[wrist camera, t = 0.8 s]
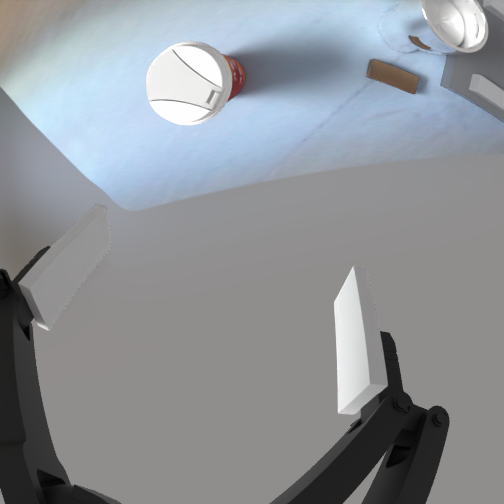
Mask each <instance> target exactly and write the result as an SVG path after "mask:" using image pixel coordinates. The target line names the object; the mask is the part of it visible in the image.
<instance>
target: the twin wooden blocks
mask: <svg viewBox="0 0 504 504" xmlns="http://www.w3.org/2000/svg"><path fill="white" fill-rule="evenodd" d="M366 77H368V78H371V79H374V80H377V81H380V82H383V83H385V84H388V85H391V86H393V87H396V88H398V89H401V90H403V91H406V92H408V93H411V94H415V93H416V89H417V85H418V81H419V77H418V76H416V75H413V74H411V73H409V72H406V71H404V70H401V69H399V68H396V67H394V66H391V65H389V64H386V63H383V62H381V61H378V60H375V59H371V60H370V62H369V66H368V70H367V74H366Z"/></svg>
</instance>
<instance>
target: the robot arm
mask: <svg viewBox="0 0 504 504" xmlns="http://www.w3.org/2000/svg"><path fill="white" fill-rule="evenodd" d="M110 248H111V238H110V229H109V220H108V208H107V206H104V205H100V204H95V206H93V207H92V208H91V209H90V210H89V211H88V212H87V213H86V214H84V215H83V216H82V217H81V218H80V219H79V220H78V221H77V222H76V223H75V224H74V225H73V226H72V227H71V228H70V229H69V230H68V231H67V232H66V233H65V234H64V235H63V236H61V238H60V239H58V241H57V242H56V243H55V244H54V245H53V246H52V247H50V246H47V247H46V248H44V249H42V250H40V251H39V252H38V253H37V254H36V255H35V256H34V257H33V259H32V260H31V261H30V262H29V263H28V264H27V265H26V266H25V267H24V268H23V269H22V270H21V272H20V273H19V274H18V275H17V276H16V277H15V278H14V280H13V281H12V282H11V280H10V277H9V275H8V273H7V271H6V270H4V269H0V489H1V492H2V495H3V498H4V501H5V504H121V503H120V502H118V501H117V500H114V499H112V498H110V497H107V496H105V495H103V494H101V493H98V492H96V491H94V490H90V489H87V488H84V487H81V486H78V485H74V486H72V485H71V484H70V481H69V479H68V476H67V474H66V471H65V469H64V467H63V466H62V464H61V463H60V462H59V460H58V458H57V456H56V453H55V450H54V447H53V443H52V440H51V436H50V432H49V428H48V425H47V420H46V416H45V412H44V407H43V402H42V397H41V392H40V386H39V381H38V374H37V367H36V359H35V350H34V342H33V341H34V340H33V327H32V324H31V321H32V319H33V318H35V320H36V322H37V324H38V326H40V327H42V328H44V329H46V330H48V331H50V329H51V328H52V326H53V325H54V323H55V322H56V320H57V319H58V317H59V316H60V314H61V313H62V312H63V310H64V309H65V307H66V306H67V304H68V303H69V302H70V300H71V299H72V298H73V296H74V295H75V293H76V292H77V291H78V289H79V288H80V287H81V285H82V284H83V283H84V281H85V280H86V279H87V277H88V276H89V275H90V273H91V272H92V271H93V270H94V268H95V267H96V266H97V264H98V263H99V262H100V261H101V259H102V258H103V257H104V255H106V253H107V252H108V251H109V249H110ZM334 310H335V326H336V344H337V368H338V369H337V372H338V413H341V414H353V415H354V414H355V413H356V412H358V411H359V410H360V409H361V418H359V419H358V420H356V421H355V422H354V423H352V424H351V425H350V426H351V428H350V429H349V430H348V431H347V432H346V433H345V435H344V436H343V437H342V438H341V439H340V440H339V441H338V442H337V443H336V444H335V445H334V446H333V447H332V448H331V449H330V450H329V451H328V452H327V453H326V454H325V455H324V456H323V457H322V458H321V459H320V460H319V461H318V462H317V463H316V464H315V465H314V466H313V467H312V468H311V469H310V470H309V471H308V472H306V473H305V474H304V475H303V476H302V477H301V478H300V479H299V480H298V481H296V482H295V483H294V484H293V485H292V486H291V487H289V488H288V489H287V490H286V491H285V492H283V493H282V494H281V495H280V496H279V497H277V498H276V499H275V500H274V501H272V502H271V503H270V504H343V502H345V500H346V499H347V498H348V497H349V496H350V495H351V494H352V493H353V492H354V490H355V489H356V488H357V487H358V486H359V485H360V484H361V482H362V481H363V480H364V479H365V478H366V477H367V475H368V474H369V473H370V472H371V470H372V469H373V468H374V467H375V465H376V464H377V463H378V461H379V460H380V459H381V457H382V456H383V455H384V453H385V452H386V451H387V452H386V454H385V456H384V459H383V461H382V464H381V466H380V468H379V470H378V472H377V474H376V477H375V478H374V480H373V482H372V485H371V486H370V488H369V490H368V492H367V494H366V496H365V498H364V500H363V502H362V504H425V503H426V501H427V498H428V496H429V493H430V490H431V487H432V484H433V481H434V479H435V476H436V473H437V469H438V466H439V463H440V459H441V456H442V452H443V448H444V445H445V441H446V436H447V432H448V428H449V416H448V413H447V412H446V410H445V409H444V408H442V407H441V406H433V407H432V408H430V409H429V410H427V409H424V408H422V407H419V406H417V405H414V404H413V402H412V400H411V398H410V396H409V395H408V394H407V393H405V392H404V391H403V386H402V380H401V374H400V368H399V362H398V357H397V354H396V352H397V351H396V346H395V342H394V340H393V338H392V337H391V335H390V333H387V332H382V331H380V330H379V324H378V319H377V314H376V309H375V304H374V299H373V295H372V290H371V285H370V281H369V276H368V273H367V269H365V268H360V267H356V266H353V267H352V270H351V271H350V274H349V275H348V277H347V279H346V281H345V283H344V285H343V287H342V289H341V291H340V292H339V295H338V296H337V298H336V300H335V302H334Z"/></svg>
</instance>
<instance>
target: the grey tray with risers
mask: <svg viewBox="0 0 504 504" xmlns="http://www.w3.org/2000/svg"><path fill="white" fill-rule="evenodd" d="M477 2H478V3H479V5H480V6H481V8H482V9H483V11H484V14H485V16H486V19H487V23H488V38H487V41H486V43H485V45H484V46H483V47H482V48H481V49H480V50H478V51H476V52H471V53H461V54H451V55H447V59H446V63H445V68H444V72H443V76H442V81H441V86H443V87H445V88H447V89H449V90H451V91H452V92H454V93H456V94H458V95H460V96H462V97H463V98H465V99H467V100H469V101H470V102H472V103H474V104H475V105H477V106H479V107H480V108H482V109H484V110H485V111H487V112H488V113H490V114H491V115H493V116H494V117H496V118H497V119H499V120H500V121H502V122H504V1H503V0H477Z"/></svg>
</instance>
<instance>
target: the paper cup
mask: <svg viewBox="0 0 504 504" xmlns="http://www.w3.org/2000/svg"><path fill="white" fill-rule="evenodd" d="M244 83H245V72H244V70H243V68H242V66H241V65H240V64H239V63H238V62H237V61H236V60H234V59H232V58H230V57H228V56H226V55H223V54H221V53H220V52H219V51H218V50H216V49H215V48H214V47H212V46H210V45H208V44H205V43H201V42H194V41H190V42H182V43H178V44H176V45H173V46H171V47H169V48H167V49H166V50H165V51H163V52H162V53H161V54H160V55H159V56H158V57H157V58H156V59H155V60H154V61H153V62H152V64H151V65H150V67H149V70H148V72H147V76H146V89H147V95H148V99H149V102H150V104H151V106H152V107H153V109H154V110H155V111H156V112H157V113H158V114H159V115H161V116H162V117H164V118H165V119H167V120H169V121H171V122H173V123H176V124H181V125H196V124H199V123H203V122H205V121H207V120H209V119H211V118H212V117H214V116H215V115H216V114H218V113H219V112H220V111H221V109H222V108H223V107H224V106H225V104H226V103H227V102H228V101H230V100H231V99H232V98H233V97H234V96H235V95H237V94H238V93H239V92H240V90H241V89H242V87H243V85H244Z"/></svg>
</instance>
